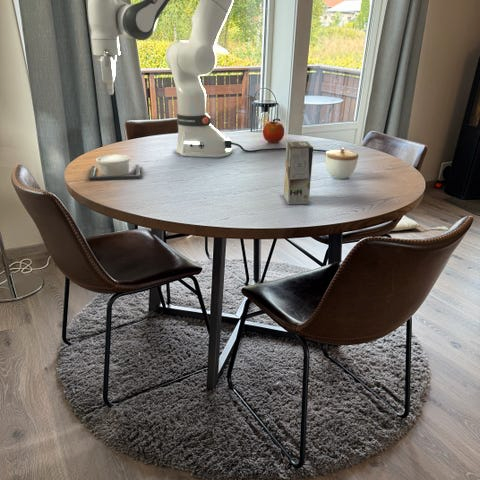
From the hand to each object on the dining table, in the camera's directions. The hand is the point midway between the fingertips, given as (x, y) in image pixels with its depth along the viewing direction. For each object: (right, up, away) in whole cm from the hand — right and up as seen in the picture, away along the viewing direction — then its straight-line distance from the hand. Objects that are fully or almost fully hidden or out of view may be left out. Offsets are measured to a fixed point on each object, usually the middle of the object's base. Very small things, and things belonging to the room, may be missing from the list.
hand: (111, 94), depth 173 cm
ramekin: (+2, -29, -2) cm, 29 cm away
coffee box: (+62, -43, -25) cm, 79 cm away
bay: (+2, -28, -2) cm, 28 cm away
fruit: (+60, -1, +45) cm, 75 cm away
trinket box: (+80, -30, -2) cm, 85 cm away
